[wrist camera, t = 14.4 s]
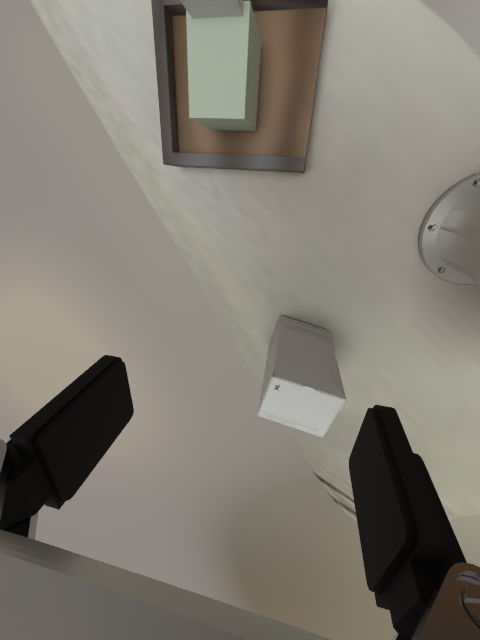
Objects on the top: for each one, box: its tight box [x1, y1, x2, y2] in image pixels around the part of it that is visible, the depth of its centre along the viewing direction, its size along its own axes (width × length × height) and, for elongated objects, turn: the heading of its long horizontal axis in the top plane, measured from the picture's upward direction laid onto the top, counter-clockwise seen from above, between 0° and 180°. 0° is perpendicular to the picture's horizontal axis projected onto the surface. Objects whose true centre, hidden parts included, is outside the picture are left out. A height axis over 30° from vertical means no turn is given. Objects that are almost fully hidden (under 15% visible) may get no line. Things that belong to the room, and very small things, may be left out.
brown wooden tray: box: [151, 0, 328, 173], centre depth 28 cm, size 16×14×5 cm
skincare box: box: [258, 316, 346, 437], centre depth 36 cm, size 8×7×16 cm
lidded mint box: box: [180, 0, 262, 131], centre depth 23 cm, size 5×7×11 cm
